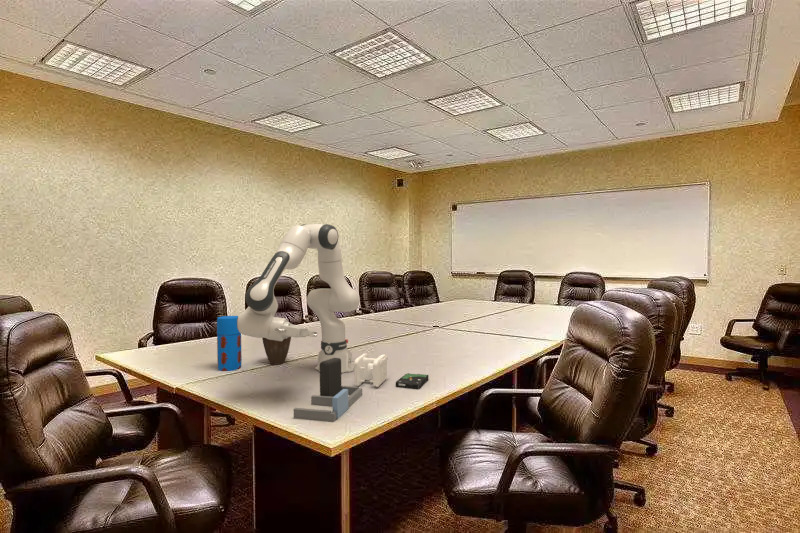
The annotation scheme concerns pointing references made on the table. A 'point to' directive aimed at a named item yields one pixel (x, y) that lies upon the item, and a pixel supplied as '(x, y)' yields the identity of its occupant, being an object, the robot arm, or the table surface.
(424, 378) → the disk drive
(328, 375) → the card reader
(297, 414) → the comb rack
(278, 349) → the plant pot
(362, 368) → the cable organizer
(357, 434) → the table surface
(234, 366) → the thermos
